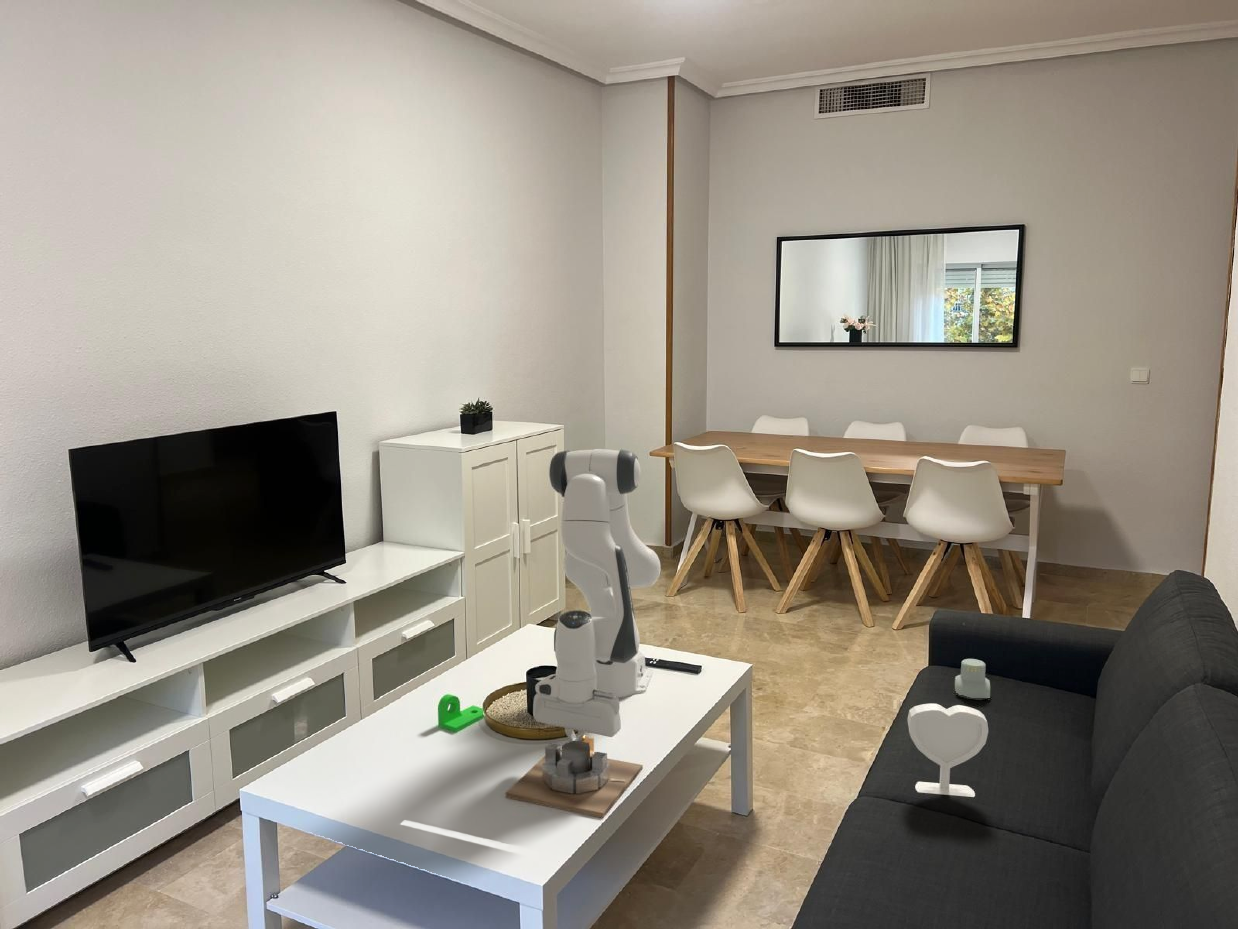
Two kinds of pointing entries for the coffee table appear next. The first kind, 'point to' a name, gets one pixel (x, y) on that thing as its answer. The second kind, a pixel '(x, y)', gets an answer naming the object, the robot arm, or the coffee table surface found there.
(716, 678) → the coffee table surface
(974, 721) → the heart sculpture
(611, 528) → the robot arm
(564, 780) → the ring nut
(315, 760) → the coffee table surface
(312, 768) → the coffee table surface
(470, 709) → the mechanical part
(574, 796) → the base plate
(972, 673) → the air freshener
